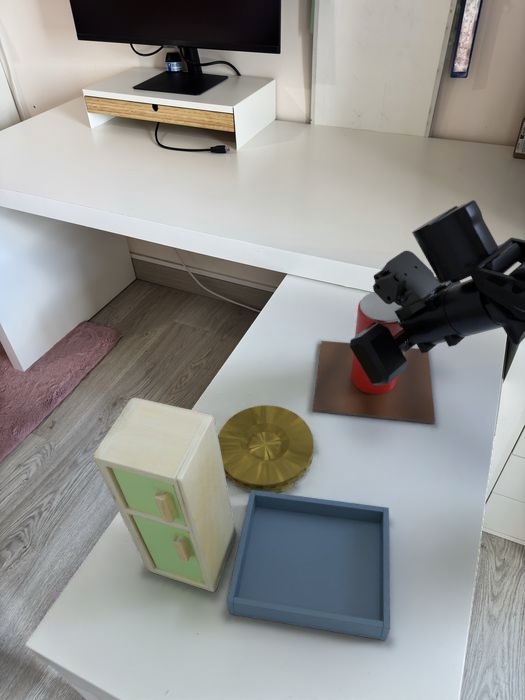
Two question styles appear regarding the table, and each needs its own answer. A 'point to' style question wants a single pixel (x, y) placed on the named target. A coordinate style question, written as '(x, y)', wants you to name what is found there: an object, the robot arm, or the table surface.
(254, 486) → the gold round disc
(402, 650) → the table surface
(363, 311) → the can
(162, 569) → the toy refrigerator
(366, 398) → the walnut board
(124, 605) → the table surface
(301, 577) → the tray
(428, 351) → the robot arm
